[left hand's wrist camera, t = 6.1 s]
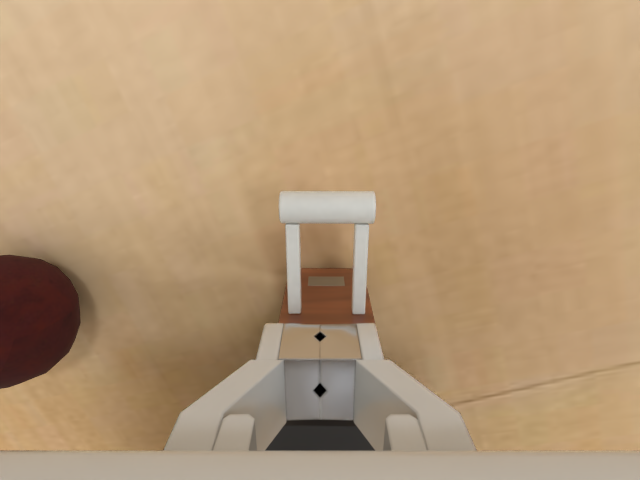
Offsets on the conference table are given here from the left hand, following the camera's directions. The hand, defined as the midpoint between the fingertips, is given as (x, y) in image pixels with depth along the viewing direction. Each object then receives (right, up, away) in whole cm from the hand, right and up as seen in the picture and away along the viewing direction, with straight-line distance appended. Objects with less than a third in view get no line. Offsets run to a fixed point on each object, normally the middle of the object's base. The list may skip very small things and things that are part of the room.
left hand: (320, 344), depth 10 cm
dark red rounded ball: (-18, 0, +14) cm, 22 cm away
